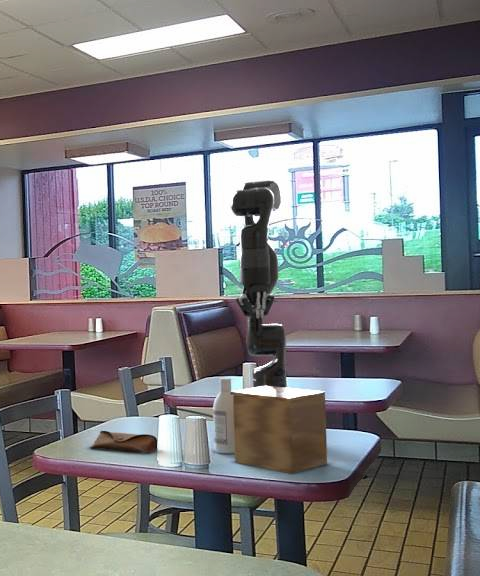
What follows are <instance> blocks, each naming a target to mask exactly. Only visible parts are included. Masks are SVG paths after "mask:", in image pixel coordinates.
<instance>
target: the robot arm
mask: <svg viewBox="0 0 480 576" xmlns="http://www.w3.org/2000/svg"><path fill="white" fill-rule="evenodd" d="M281 205H282V189H281V185H280V184H279V183H278V182H277V181H276V180H262V181H261V180H260V181H249V182H245V183H243V185H242V186H241V189H238V190H236V191H235V192H234V193H233V194H232V196H231V199H230V209H231V211H232V213H233V214H234V216H236V217H239V218H242V221H243V226H242V227H240V229H239V233H238V234H239V235H238V237H239V238H238V239H239V255H238V266H239V284H240V286H241V285H242V286H243V287H242V291H241V293H242V294H241V295H240V297H237V298H236V299H235V301H236V303H237V305H238V307H239V308H240V310H241V313H242V314H243V316H244V317H246V333H245V334H246V335H245V336H246V337H245V338H246V340H245V341H246V349H247V352H248V355H249V356H250V357H273V359H272V360H271V361H270V362H269V363H267V364H265V365H263V366H259V367H256V368H254V369H253V371H252V388H255V387H261V386H274V387H284V388H288V387H287V386H288V385H287V366H286V365H287V363H286V360H287V359H286V357H287V356H286V354H287V353H286V352H287V333H286V328H285V327H284V325H282V324H278V323H271V324H270V323H269V324H263V319H264V317H265V316H268V315H269V312H270V310H271V308H272V306H273V303H274V301H275V296H274V295H271V294H272V292H273V291H274V288H275V287H276V285H277V284H278V280H279V260H278V255H277V253H276V250H275V249H274V248H273V247H272V245H271V244H270V243H269V224H270V220H271V216H272V213H273V212H277V211H278V210H279V209H280V207H281ZM255 217H259V218H258V220H257V221H256V219H255ZM167 407H168V408H170V409H171V410H175V411H181V412H185V413H186V412H187V413H191V414H195V415H200V416H204V417H208V418H212V419H213V414H209V413H205V412H200V411H197V410H191V409H186V408H181V407H176V406H173V405H172V403H171V402H169V403H168V404H167V405H166V408H167Z"/></svg>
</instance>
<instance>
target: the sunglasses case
mask: <svg viewBox="0 0 480 576" xmlns="http://www.w3.org/2000/svg"><path fill="white" fill-rule="evenodd" d="M157 441H158V439H157V437H156V436H155V435H152V434H143V433H142V434H136V433H126V432H116V431H115V432H113V431H109V430H100V432H99V434H98V436H97V437H96V438H95V440H94V442H93V443H92V446H89V448H90V449H101V450H108V451H109V450H110V451H117V452H125V453H152V452H155V451H157V450H158V448H157Z"/></svg>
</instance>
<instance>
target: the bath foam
mask: <svg viewBox="0 0 480 576" xmlns="http://www.w3.org/2000/svg"><path fill="white" fill-rule="evenodd" d="M230 391H232V379H231V378H230V377H220V378H219V393H218V394H217V396H216V397H215V399H214V401H213V404H212V405H213V406H212V415H213V418H212V419H213V421H212V422H213V449H214V451H215V452H216V453H219V454H224V455H225V454H226V455H227V454H229V455H231V454H235V434H234V404H233V395H230Z"/></svg>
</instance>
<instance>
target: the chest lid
mask: <svg viewBox="0 0 480 576" xmlns="http://www.w3.org/2000/svg"><path fill="white" fill-rule="evenodd" d="M230 395H237V396H245V397H254V398H262V399H270V400H279V401H287V402H290V401H295V400H301V399H306V398H312V397H317V396H323V395H325V396H326V391H321V390H313V389H311V390H310V389H301V388H291V387H287V388H284V387H274V386H261V387H255V388H253V387H250V388H249V387H248V388H243V389H237V390H231V391H230Z"/></svg>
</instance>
